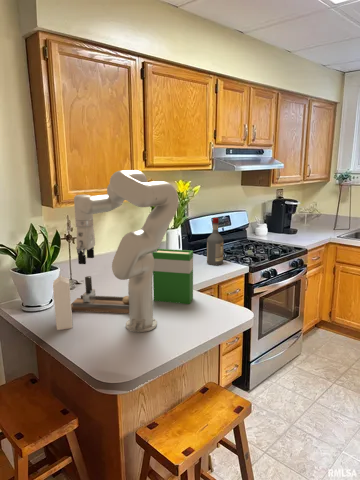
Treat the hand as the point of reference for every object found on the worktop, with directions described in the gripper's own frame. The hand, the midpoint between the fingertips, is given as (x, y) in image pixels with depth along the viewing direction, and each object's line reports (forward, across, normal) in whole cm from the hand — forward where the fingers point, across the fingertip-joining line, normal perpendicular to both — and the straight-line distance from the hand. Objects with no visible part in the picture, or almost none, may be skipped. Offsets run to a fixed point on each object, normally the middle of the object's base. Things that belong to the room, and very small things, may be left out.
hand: (86, 260), depth 160 cm
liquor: (+22, +77, -56) cm, 97 cm away
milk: (+22, -20, +2) cm, 30 cm away
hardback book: (+22, +13, -38) cm, 45 cm away
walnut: (+18, 0, -18) cm, 25 cm away
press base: (+22, 0, -9) cm, 23 cm away
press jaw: (+20, 0, -1) cm, 20 cm away
